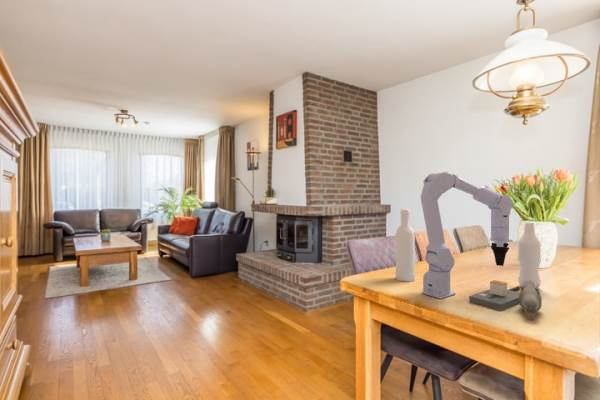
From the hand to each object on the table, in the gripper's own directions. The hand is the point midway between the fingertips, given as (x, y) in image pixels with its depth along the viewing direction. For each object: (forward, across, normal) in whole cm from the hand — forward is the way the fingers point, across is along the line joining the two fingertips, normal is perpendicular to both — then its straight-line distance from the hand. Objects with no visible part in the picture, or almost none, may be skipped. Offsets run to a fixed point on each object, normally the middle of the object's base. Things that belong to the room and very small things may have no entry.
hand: (499, 263), depth 120 cm
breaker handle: (+8, -13, 0) cm, 15 cm away
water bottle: (+10, +11, -10) cm, 18 cm away
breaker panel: (+10, -13, 0) cm, 17 cm away
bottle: (+10, -1, +34) cm, 36 cm away
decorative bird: (+11, -20, -8) cm, 24 cm away
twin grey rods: (+10, 0, -6) cm, 12 cm away
